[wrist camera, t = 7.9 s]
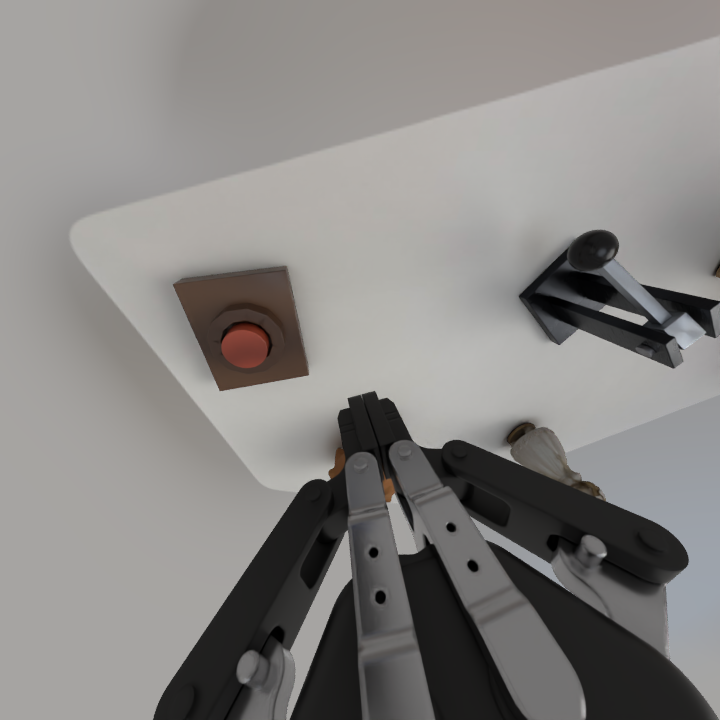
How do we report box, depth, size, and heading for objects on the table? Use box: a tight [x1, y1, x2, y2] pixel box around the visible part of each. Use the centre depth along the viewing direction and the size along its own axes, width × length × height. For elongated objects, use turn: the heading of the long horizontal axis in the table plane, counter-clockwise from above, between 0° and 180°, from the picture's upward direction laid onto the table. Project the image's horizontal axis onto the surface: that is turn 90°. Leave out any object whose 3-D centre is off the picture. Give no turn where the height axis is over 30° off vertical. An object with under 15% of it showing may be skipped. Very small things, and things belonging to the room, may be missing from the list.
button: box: [221, 323, 269, 368], centre depth 25 cm, size 4×4×2 cm
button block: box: [173, 266, 309, 391], centre depth 27 cm, size 12×10×4 cm
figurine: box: [507, 423, 606, 501], centre depth 42 cm, size 8×7×15 cm
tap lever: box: [567, 230, 706, 350], centre depth 25 cm, size 14×4×4 cm, turn 49°
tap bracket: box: [519, 248, 720, 368], centre depth 29 cm, size 11×9×14 cm
